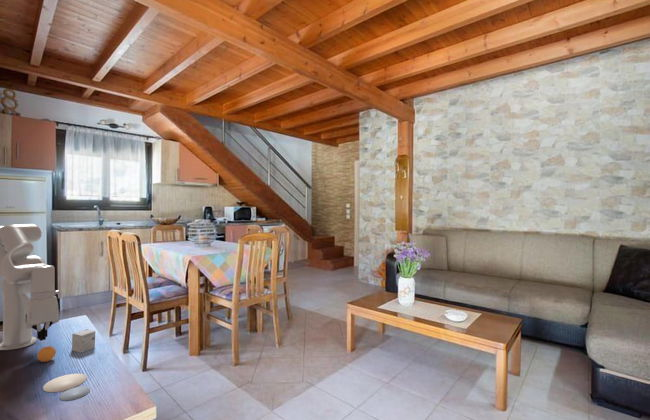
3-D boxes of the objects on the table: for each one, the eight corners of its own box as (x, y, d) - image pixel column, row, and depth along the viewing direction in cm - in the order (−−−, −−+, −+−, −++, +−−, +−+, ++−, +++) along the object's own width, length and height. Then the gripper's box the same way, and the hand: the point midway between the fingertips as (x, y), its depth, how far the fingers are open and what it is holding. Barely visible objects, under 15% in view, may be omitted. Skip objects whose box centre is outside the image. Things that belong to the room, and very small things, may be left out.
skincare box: (80, 353, 136) (81, 335, 136) (71, 350, 138) (71, 333, 138) (95, 347, 142) (95, 330, 142) (86, 345, 144) (86, 328, 144)
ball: (35, 361, 128) (35, 347, 128) (53, 356, 132) (53, 343, 132) (39, 365, 124) (39, 351, 124) (57, 360, 129) (57, 346, 129)
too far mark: (56, 394, 106) (56, 393, 106) (85, 384, 112) (85, 383, 112) (63, 403, 101) (63, 403, 101) (93, 392, 107) (93, 392, 107)
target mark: (38, 383, 112) (38, 383, 112) (80, 370, 121) (80, 370, 121) (48, 396, 105) (48, 395, 105) (91, 381, 114) (91, 381, 114)
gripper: (62, 290, 142) (62, 332, 142) (16, 297, 130) (15, 343, 130) (67, 293, 138) (67, 336, 137) (20, 300, 126) (19, 347, 125)
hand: (42, 339), depth 133 cm, fingers closed
